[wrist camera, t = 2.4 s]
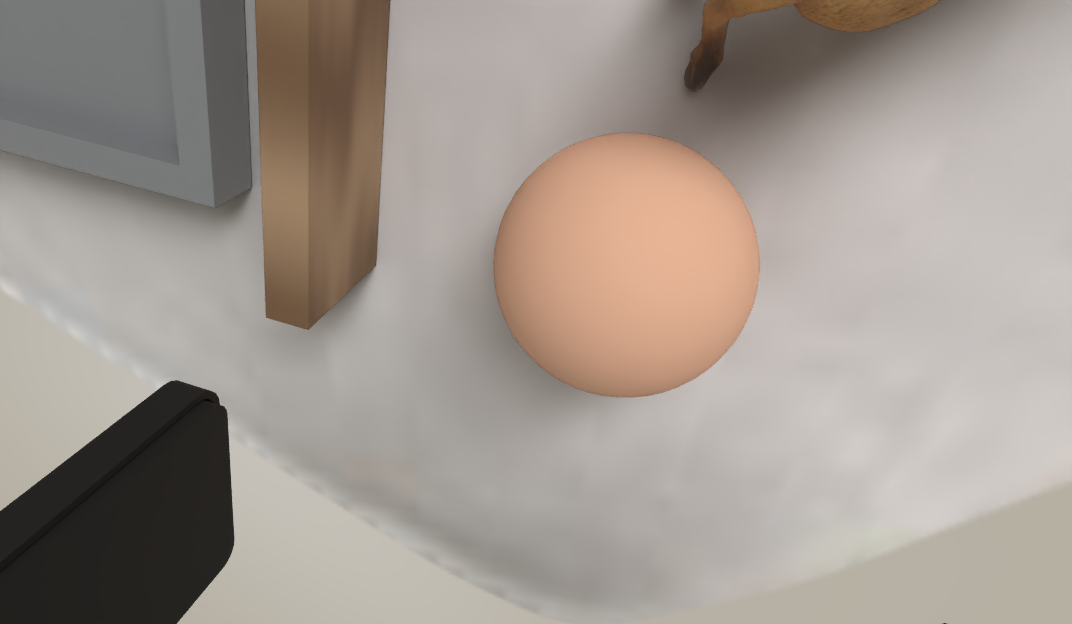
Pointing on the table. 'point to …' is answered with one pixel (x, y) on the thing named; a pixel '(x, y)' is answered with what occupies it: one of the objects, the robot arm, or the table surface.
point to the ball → (626, 265)
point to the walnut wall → (319, 148)
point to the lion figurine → (831, 3)
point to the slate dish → (130, 92)
